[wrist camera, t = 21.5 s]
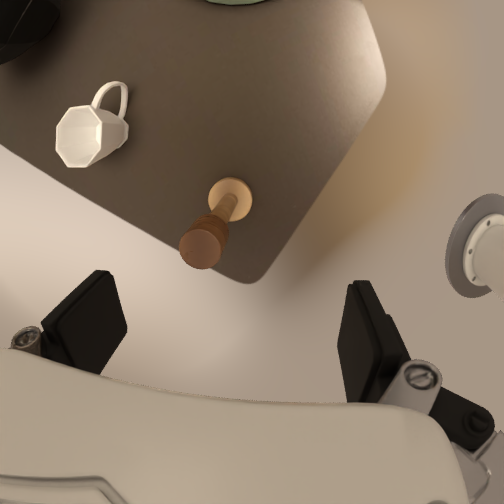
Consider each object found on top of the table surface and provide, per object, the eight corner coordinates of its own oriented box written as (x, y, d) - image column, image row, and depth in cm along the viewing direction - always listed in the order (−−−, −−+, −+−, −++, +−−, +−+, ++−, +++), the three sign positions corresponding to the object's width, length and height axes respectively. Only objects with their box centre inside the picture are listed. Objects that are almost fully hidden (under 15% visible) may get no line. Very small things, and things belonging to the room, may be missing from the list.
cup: (86, 147, 32) (47, 155, 24) (115, 77, 28) (77, 70, 20) (125, 167, 33) (89, 180, 25) (158, 95, 29) (126, 88, 21)
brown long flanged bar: (253, 177, 32) (236, 216, 18) (252, 219, 34) (235, 284, 20) (210, 176, 32) (162, 213, 19) (210, 217, 34) (168, 279, 21)
